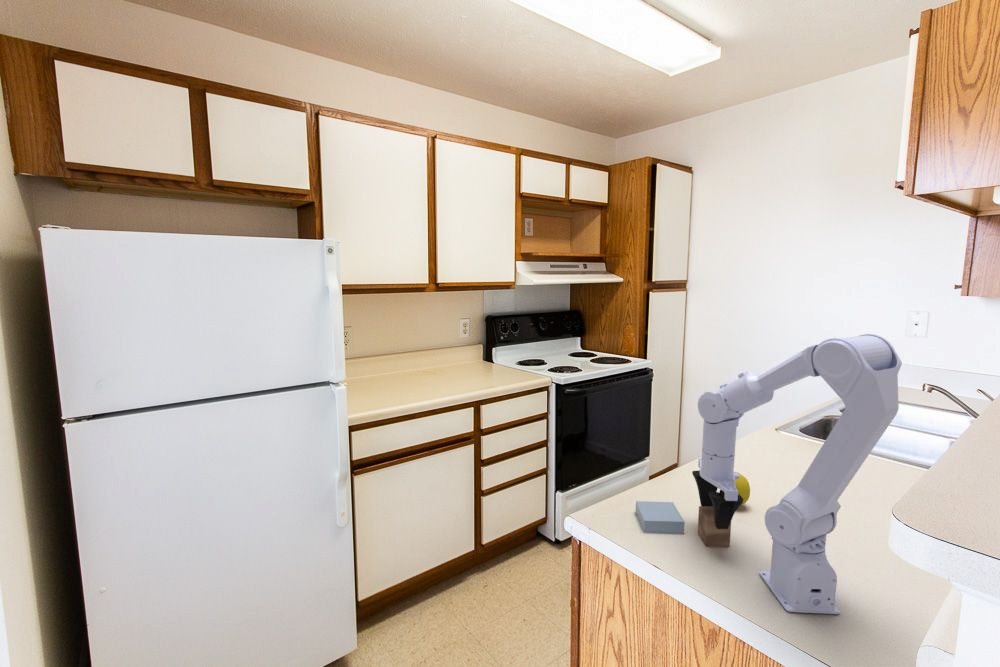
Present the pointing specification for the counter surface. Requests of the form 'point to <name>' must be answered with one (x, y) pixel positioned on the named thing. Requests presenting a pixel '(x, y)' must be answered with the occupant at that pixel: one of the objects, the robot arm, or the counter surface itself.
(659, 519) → the blue-gray block
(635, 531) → the counter surface
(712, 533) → the walnut block
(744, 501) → the lemon
